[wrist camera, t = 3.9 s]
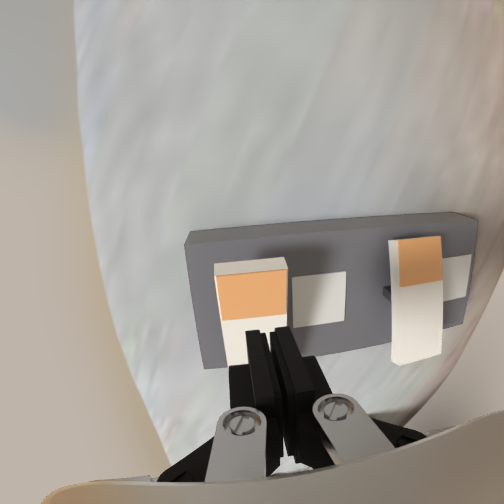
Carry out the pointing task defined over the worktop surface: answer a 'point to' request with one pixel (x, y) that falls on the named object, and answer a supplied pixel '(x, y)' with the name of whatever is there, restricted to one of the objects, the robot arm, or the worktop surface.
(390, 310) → the switch panel
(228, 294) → the rocker
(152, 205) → the worktop surface
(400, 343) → the rocker
